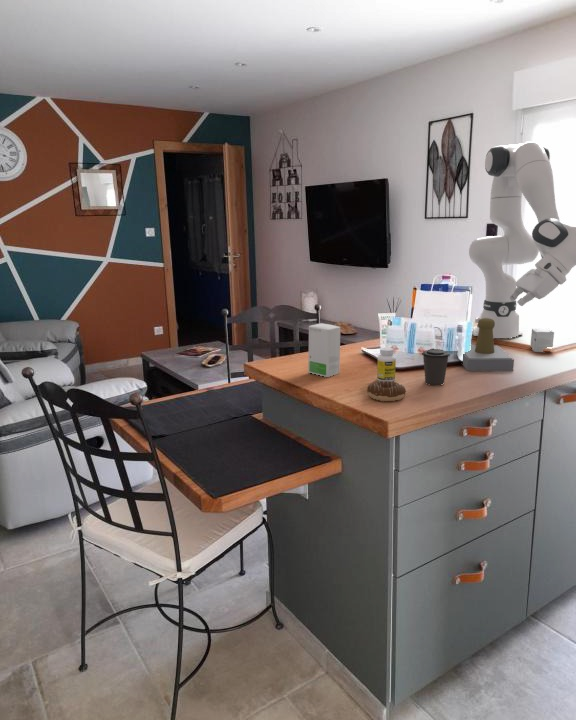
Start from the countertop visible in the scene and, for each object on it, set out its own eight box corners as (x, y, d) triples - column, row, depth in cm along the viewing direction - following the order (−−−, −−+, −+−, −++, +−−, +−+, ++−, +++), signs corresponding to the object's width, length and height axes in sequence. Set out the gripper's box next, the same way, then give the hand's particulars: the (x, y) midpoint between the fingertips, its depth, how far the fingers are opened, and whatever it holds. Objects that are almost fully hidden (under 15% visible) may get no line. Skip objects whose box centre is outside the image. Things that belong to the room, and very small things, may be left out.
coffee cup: (430, 377, 172) (431, 345, 169) (454, 382, 166) (455, 349, 163) (415, 383, 166) (416, 350, 164) (439, 389, 160) (441, 355, 158)
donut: (360, 400, 154) (360, 386, 153) (376, 389, 162) (376, 376, 161) (396, 406, 148) (397, 392, 147) (411, 395, 156) (412, 381, 155)
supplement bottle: (384, 383, 167) (384, 351, 164) (373, 379, 171) (373, 348, 169) (398, 380, 169) (399, 349, 167) (387, 376, 174) (388, 345, 171)
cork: (491, 349, 187) (493, 316, 184) (496, 353, 181) (498, 320, 178) (473, 349, 187) (474, 317, 184) (477, 353, 181) (479, 320, 179)
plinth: (456, 356, 194) (457, 345, 193) (498, 356, 193) (499, 345, 192) (467, 370, 177) (467, 358, 176) (513, 370, 176) (514, 358, 175)
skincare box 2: (529, 348, 203) (531, 328, 201) (547, 348, 202) (549, 328, 200) (534, 352, 197) (536, 331, 195) (552, 352, 196) (554, 331, 195)
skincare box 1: (307, 373, 180) (306, 325, 176) (321, 369, 184) (320, 322, 180) (328, 378, 174) (327, 329, 170) (341, 373, 179) (341, 325, 175)
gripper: (532, 260, 185) (499, 290, 189) (554, 266, 165) (517, 300, 169) (545, 273, 186) (512, 303, 189) (568, 281, 166) (531, 314, 170)
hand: (514, 301), depth 179 cm, fingers open, 8 cm apart
